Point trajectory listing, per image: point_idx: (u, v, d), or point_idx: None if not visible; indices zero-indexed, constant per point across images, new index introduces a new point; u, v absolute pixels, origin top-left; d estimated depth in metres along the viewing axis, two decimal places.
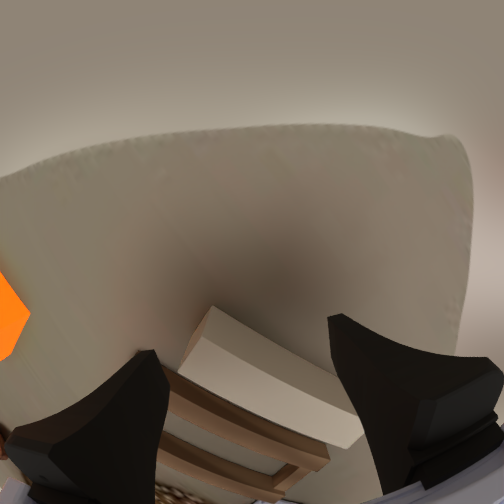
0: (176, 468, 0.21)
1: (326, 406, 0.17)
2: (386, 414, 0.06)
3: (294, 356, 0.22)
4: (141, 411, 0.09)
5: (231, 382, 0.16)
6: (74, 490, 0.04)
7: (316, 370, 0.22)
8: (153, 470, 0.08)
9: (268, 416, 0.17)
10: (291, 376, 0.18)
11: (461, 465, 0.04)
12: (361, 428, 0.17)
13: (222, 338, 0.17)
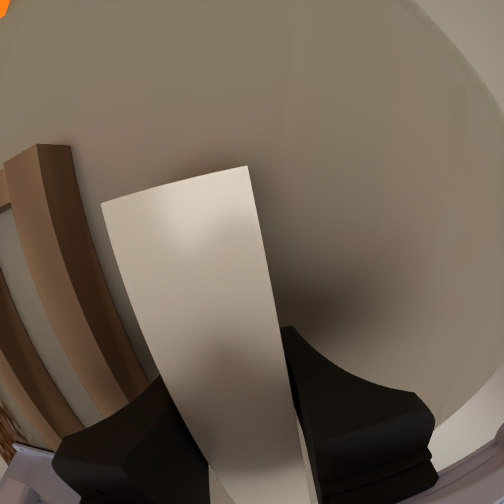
0: None
1: (296, 469, 0.08)
2: (307, 437, 0.06)
3: None
4: None
5: (198, 329, 0.06)
6: (142, 503, 0.04)
7: None
8: (207, 469, 0.08)
9: (198, 432, 0.07)
10: None
11: None
12: None
13: None
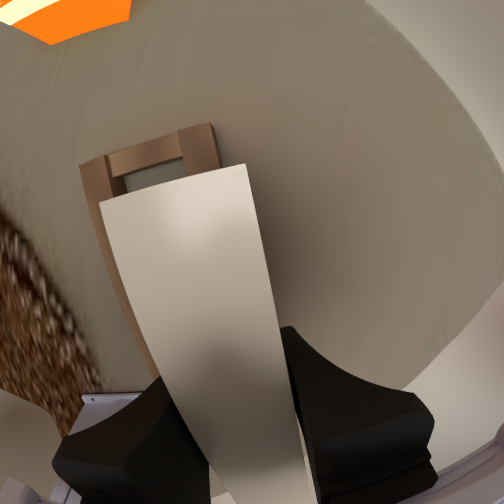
0: (116, 285, 0.19)
1: (297, 468, 0.08)
2: (306, 437, 0.06)
3: None
4: None
5: (197, 329, 0.06)
6: (143, 503, 0.04)
7: None
8: (207, 469, 0.08)
9: (198, 432, 0.07)
10: None
11: None
12: None
13: None
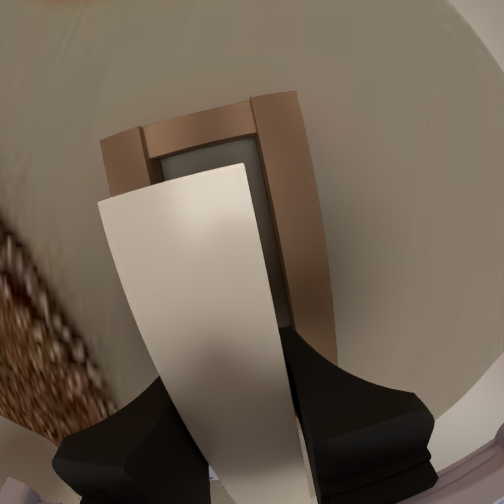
0: None
1: (296, 468, 0.08)
2: (306, 437, 0.06)
3: None
4: None
5: (196, 328, 0.06)
6: (143, 503, 0.04)
7: None
8: (207, 469, 0.08)
9: (197, 432, 0.07)
10: None
11: None
12: None
13: None
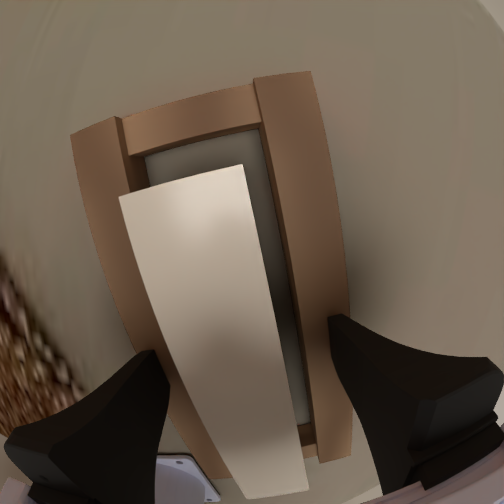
0: (135, 338, 0.11)
1: (292, 444, 0.09)
2: (386, 414, 0.06)
3: None
4: (141, 411, 0.09)
5: (201, 305, 0.07)
6: (74, 490, 0.04)
7: None
8: (154, 470, 0.08)
9: (201, 405, 0.08)
10: None
11: (461, 465, 0.04)
12: (291, 488, 0.10)
13: None
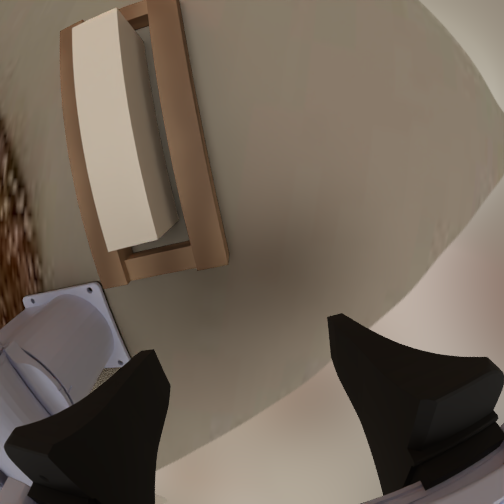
0: (67, 126, 0.15)
1: (131, 154, 0.13)
2: (386, 414, 0.06)
3: (157, 130, 0.18)
4: (141, 411, 0.09)
5: (92, 58, 0.12)
6: (74, 490, 0.04)
7: (162, 160, 0.18)
8: (153, 470, 0.08)
9: (81, 118, 0.13)
10: (135, 105, 0.14)
11: (461, 465, 0.04)
12: (141, 232, 0.14)
13: (125, 31, 0.12)
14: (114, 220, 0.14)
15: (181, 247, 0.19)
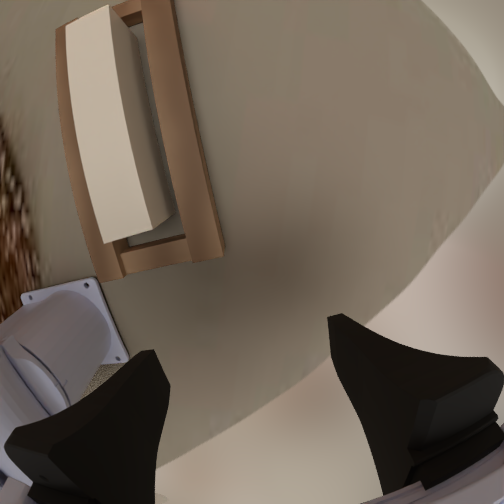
0: (63, 122, 0.15)
1: (125, 145, 0.13)
2: (386, 414, 0.06)
3: (151, 123, 0.18)
4: (141, 411, 0.09)
5: (85, 53, 0.11)
6: (74, 490, 0.04)
7: (157, 153, 0.18)
8: (154, 470, 0.08)
9: (76, 112, 0.12)
10: (129, 98, 0.14)
11: (461, 465, 0.04)
12: (135, 222, 0.14)
13: (117, 27, 0.12)
14: (109, 211, 0.14)
15: (176, 240, 0.19)
